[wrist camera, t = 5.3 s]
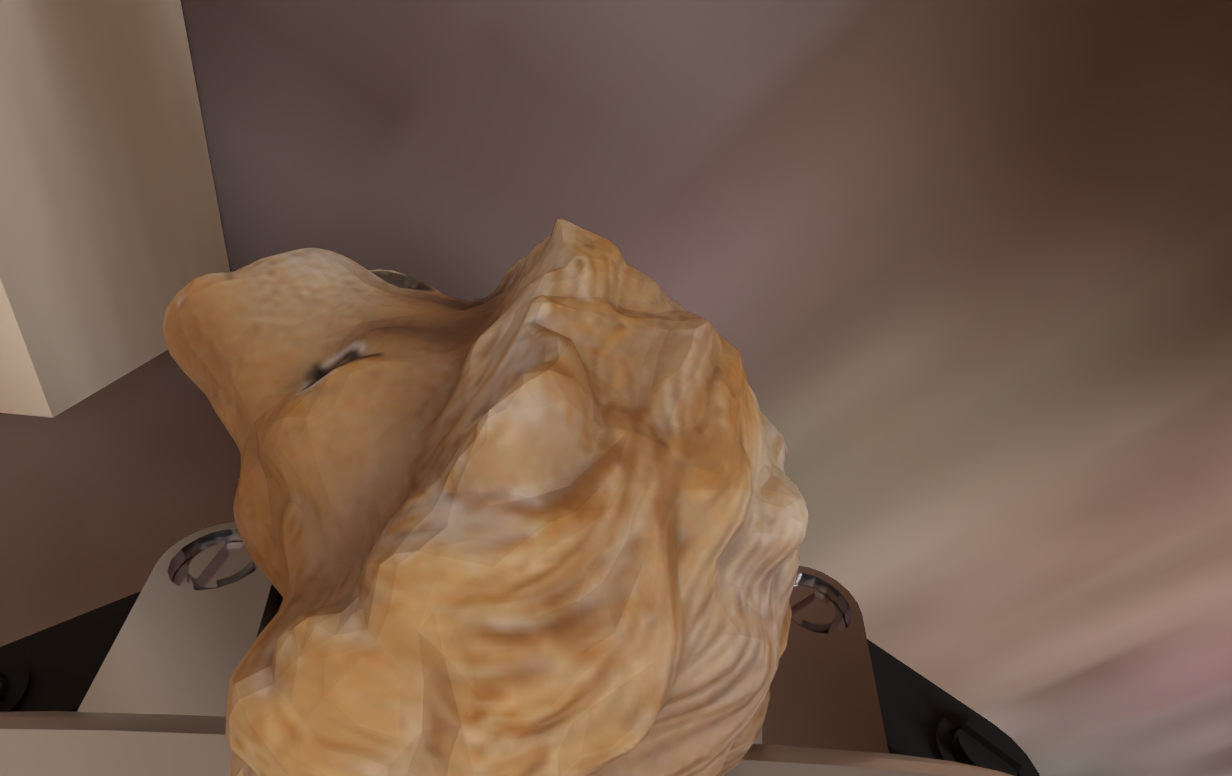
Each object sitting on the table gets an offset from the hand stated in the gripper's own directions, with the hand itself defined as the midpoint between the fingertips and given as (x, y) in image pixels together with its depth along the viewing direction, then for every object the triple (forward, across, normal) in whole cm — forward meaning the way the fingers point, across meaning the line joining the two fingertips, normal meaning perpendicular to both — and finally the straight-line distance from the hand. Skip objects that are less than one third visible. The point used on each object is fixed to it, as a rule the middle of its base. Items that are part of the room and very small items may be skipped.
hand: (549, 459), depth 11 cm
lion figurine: (+1, 0, +1) cm, 2 cm away
